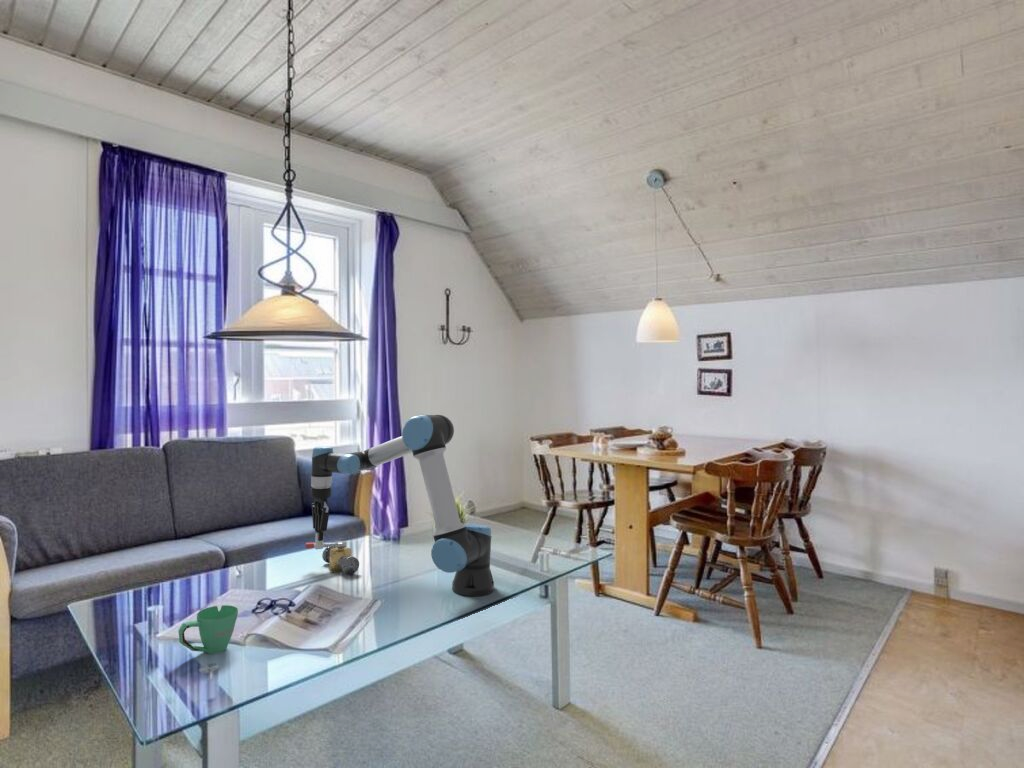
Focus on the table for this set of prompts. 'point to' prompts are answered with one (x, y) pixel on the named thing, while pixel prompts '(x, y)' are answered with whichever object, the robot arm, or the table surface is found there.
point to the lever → (328, 544)
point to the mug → (212, 629)
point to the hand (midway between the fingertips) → (319, 548)
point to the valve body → (340, 560)
